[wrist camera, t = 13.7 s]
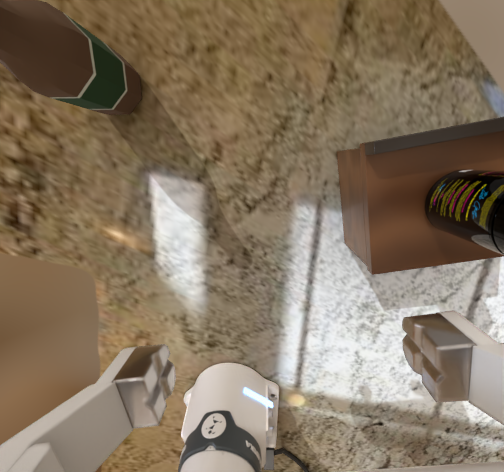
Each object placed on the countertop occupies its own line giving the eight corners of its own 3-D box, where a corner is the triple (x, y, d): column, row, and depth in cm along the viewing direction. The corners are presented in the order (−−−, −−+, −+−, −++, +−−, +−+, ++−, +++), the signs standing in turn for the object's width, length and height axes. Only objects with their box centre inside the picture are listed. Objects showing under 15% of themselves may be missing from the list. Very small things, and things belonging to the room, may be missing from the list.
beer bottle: (151, 69, 35) (-71, -108, 12) (136, 126, 37) (-75, 70, 14) (96, 45, 34) (-246, -191, 11) (85, 104, 36) (-223, 7, 13)
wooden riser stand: (465, 227, 39) (560, 259, 26) (344, 246, 41) (380, 284, 28) (470, 122, 35) (586, 101, 22) (336, 148, 36) (374, 141, 24)
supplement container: (417, 233, 29) (500, 272, 19) (423, 172, 27) (517, 178, 17) (481, 228, 28) (601, 265, 18) (491, 165, 26) (630, 167, 16)
